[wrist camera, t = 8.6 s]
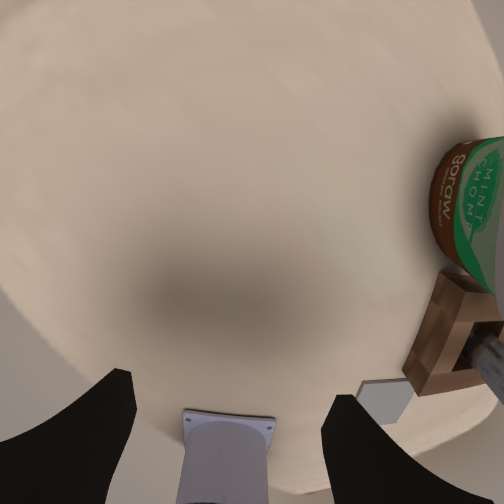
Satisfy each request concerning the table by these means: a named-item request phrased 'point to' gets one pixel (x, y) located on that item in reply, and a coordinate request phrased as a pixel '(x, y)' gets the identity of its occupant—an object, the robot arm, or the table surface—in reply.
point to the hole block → (450, 335)
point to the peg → (486, 357)
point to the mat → (385, 399)
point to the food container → (472, 211)
